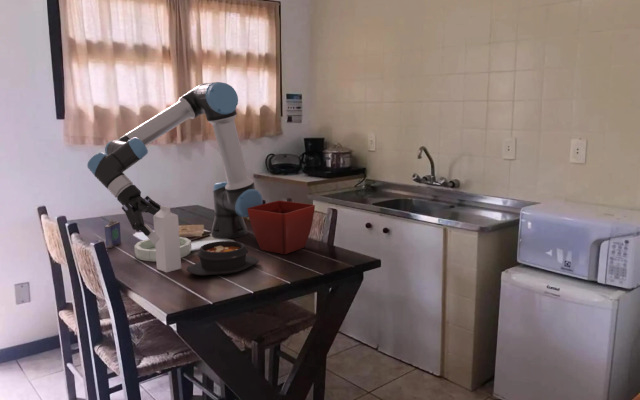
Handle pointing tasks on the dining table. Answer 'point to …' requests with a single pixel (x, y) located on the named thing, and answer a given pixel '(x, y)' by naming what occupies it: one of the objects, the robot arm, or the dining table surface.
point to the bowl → (148, 251)
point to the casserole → (222, 259)
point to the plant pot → (281, 225)
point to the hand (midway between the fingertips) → (167, 236)
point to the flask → (112, 234)
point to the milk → (167, 240)
